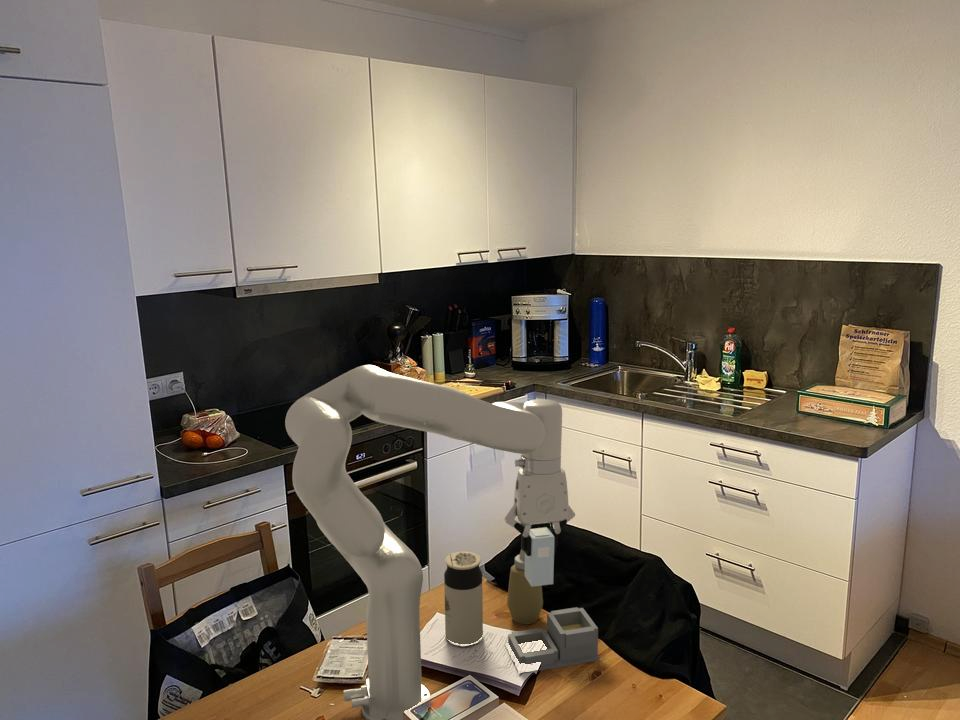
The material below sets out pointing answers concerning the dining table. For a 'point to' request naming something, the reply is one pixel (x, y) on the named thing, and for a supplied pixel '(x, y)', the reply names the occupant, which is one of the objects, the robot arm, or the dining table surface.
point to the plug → (540, 558)
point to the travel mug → (463, 598)
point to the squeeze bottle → (523, 594)
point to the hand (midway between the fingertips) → (539, 550)
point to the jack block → (560, 640)
